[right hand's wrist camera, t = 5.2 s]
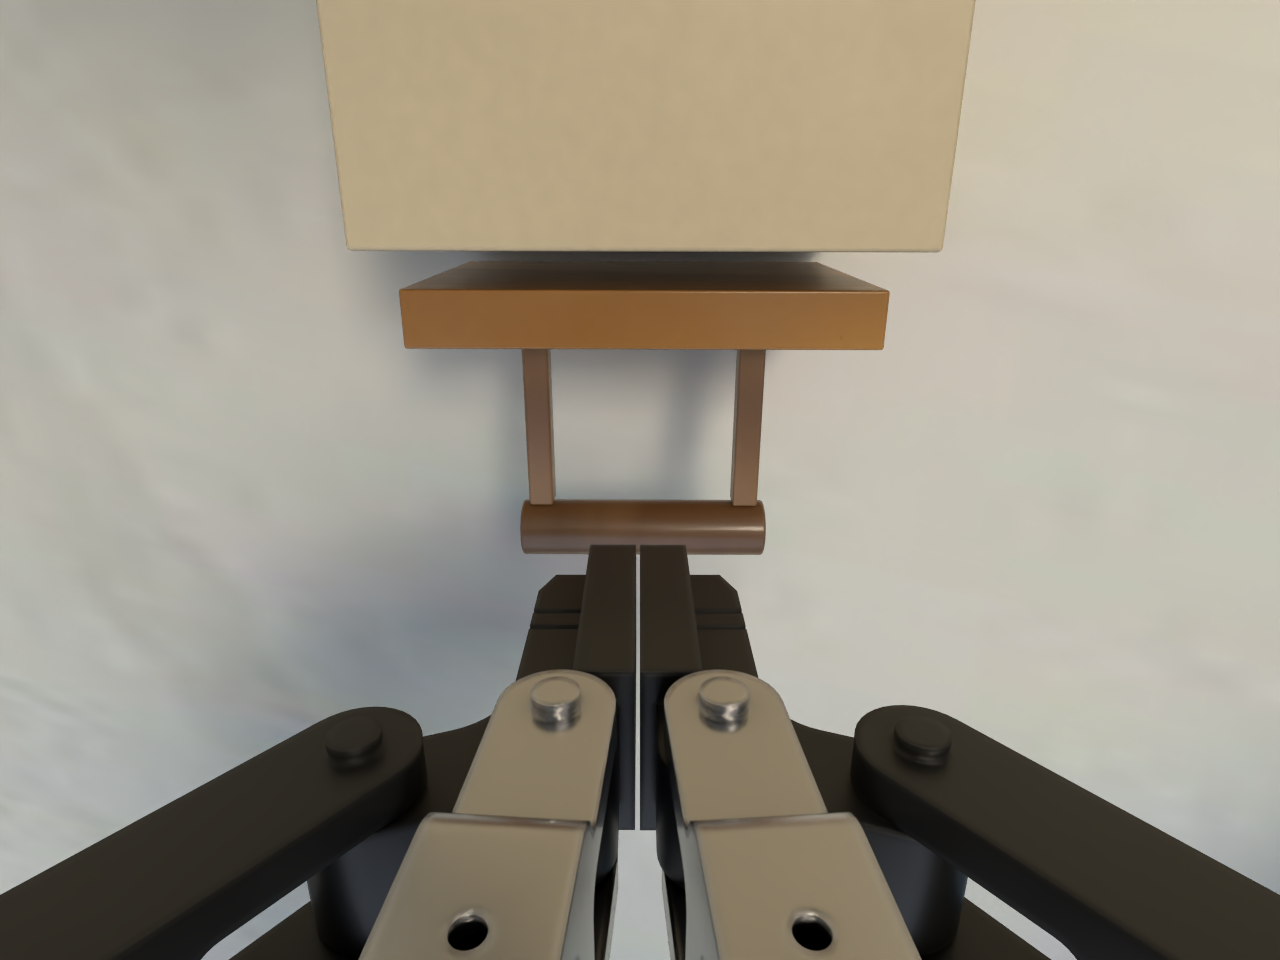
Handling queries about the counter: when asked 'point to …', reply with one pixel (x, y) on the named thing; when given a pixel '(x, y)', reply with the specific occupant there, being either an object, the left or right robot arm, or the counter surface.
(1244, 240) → the counter surface
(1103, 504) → the counter surface
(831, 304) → the drawer
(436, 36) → the cabinet
